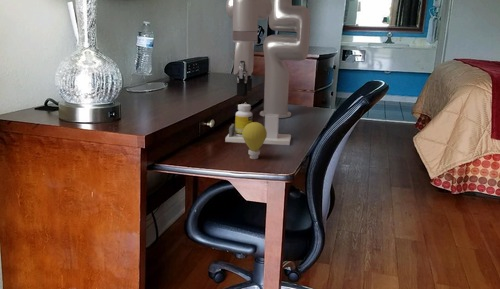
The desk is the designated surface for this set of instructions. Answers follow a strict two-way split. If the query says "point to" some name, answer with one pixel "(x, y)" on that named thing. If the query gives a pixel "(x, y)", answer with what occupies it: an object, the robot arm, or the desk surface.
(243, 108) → the supplement bottle
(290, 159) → the desk surface
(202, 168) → the desk surface
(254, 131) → the light bulb
